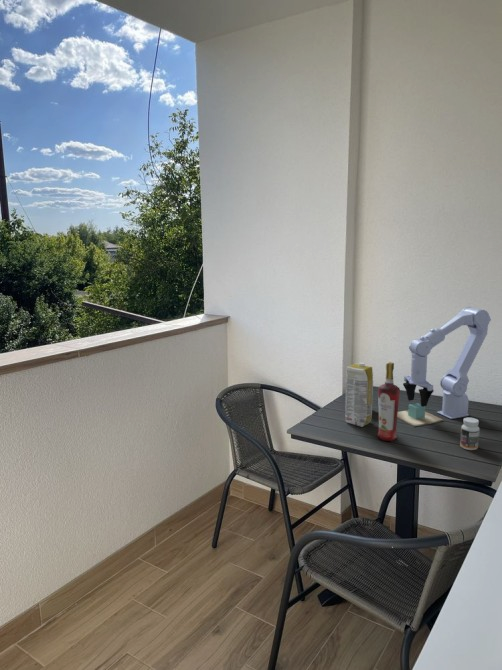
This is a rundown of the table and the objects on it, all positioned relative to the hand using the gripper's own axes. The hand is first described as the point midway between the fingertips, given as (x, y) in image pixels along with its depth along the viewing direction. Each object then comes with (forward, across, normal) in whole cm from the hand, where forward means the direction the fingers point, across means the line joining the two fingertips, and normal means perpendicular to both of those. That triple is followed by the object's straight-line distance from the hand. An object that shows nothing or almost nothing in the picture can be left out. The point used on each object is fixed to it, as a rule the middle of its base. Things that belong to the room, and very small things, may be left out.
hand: (417, 403), depth 188 cm
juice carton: (+6, -5, -24) cm, 25 cm away
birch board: (+6, 0, 0) cm, 6 cm away
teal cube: (+6, 0, 0) cm, 6 cm away
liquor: (+6, +12, -23) cm, 27 cm away
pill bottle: (+6, +29, -2) cm, 30 cm away
